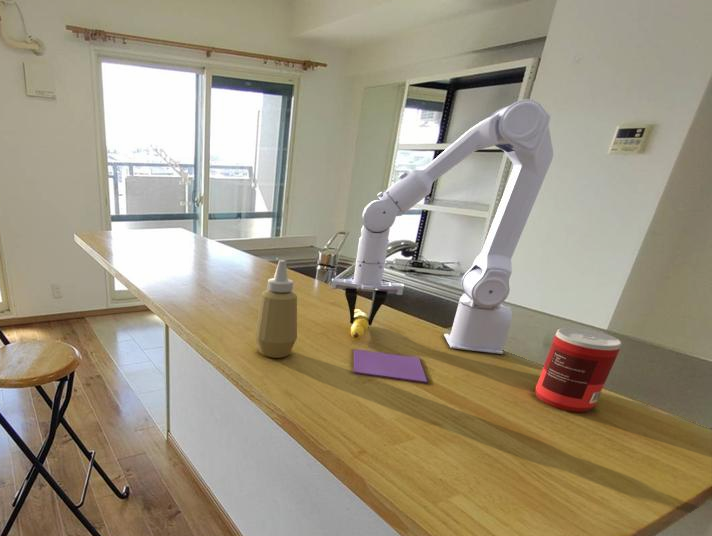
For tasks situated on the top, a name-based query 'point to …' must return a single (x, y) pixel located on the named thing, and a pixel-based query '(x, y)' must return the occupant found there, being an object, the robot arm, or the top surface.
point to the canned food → (577, 368)
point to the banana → (359, 324)
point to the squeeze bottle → (277, 316)
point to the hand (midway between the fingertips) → (360, 323)
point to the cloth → (388, 365)
